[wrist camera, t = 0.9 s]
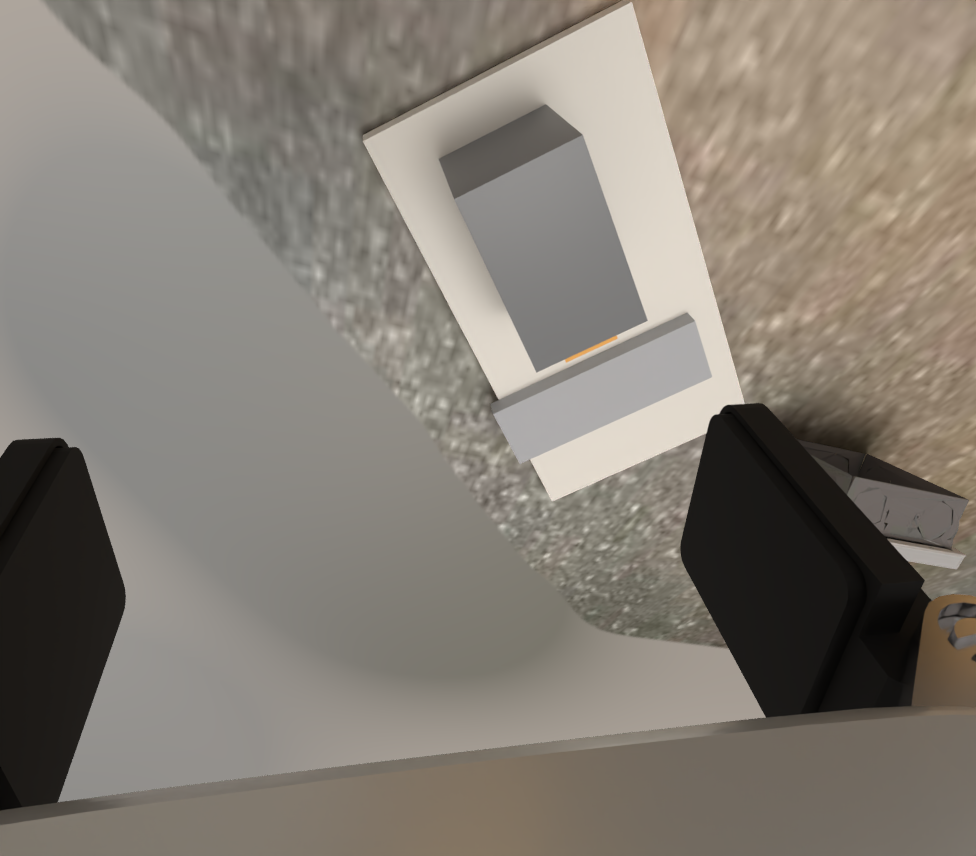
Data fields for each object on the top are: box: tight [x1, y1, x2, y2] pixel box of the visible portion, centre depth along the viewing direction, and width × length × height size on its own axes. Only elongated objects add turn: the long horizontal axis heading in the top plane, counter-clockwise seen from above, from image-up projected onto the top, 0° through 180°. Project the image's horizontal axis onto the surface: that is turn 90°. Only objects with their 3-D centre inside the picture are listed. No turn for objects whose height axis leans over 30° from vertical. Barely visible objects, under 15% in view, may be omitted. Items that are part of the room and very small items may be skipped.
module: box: [439, 104, 648, 373], centre depth 31 cm, size 5×9×6 cm, turn 24°
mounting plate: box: [363, 0, 745, 501], centre depth 36 cm, size 12×22×2 cm, turn 24°
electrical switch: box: [797, 439, 969, 569], centre depth 41 cm, size 9×5×9 cm, turn 72°
